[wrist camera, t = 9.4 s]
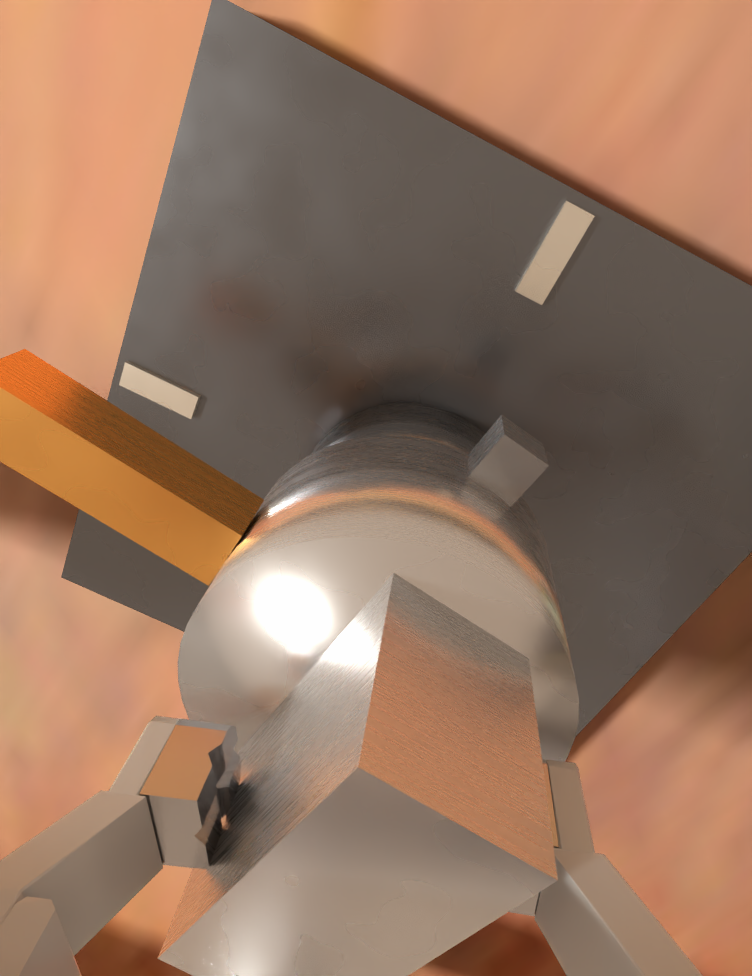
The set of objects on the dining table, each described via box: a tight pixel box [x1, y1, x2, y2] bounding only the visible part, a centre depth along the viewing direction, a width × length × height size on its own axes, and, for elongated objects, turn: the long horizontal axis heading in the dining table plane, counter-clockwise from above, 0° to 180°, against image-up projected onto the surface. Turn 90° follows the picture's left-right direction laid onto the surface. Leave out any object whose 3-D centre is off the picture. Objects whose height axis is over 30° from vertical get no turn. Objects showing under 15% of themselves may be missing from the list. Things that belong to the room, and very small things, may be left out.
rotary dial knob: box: [0, 349, 579, 976], centre depth 12 cm, size 14×10×9 cm
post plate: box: [62, 0, 752, 737], centre depth 19 cm, size 20×19×5 cm
